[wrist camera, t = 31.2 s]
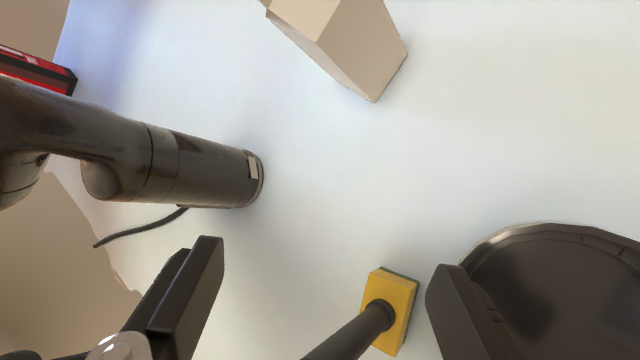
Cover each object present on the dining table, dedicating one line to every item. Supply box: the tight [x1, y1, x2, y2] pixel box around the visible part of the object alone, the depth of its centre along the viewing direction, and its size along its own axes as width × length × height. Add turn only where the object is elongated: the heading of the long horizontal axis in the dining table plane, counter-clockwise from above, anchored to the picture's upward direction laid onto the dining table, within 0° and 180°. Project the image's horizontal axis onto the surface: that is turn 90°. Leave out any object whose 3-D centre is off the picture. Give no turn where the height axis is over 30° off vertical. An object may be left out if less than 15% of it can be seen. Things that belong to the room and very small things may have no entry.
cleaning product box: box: [0, 44, 78, 97], centre depth 80 cm, size 16×9×20 cm, turn 143°
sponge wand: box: [300, 267, 419, 360], centre depth 25 cm, size 7×4×18 cm, turn 164°
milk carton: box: [259, 0, 408, 103], centre depth 29 cm, size 7×7×19 cm
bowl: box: [457, 222, 640, 360], centre depth 24 cm, size 17×17×5 cm
